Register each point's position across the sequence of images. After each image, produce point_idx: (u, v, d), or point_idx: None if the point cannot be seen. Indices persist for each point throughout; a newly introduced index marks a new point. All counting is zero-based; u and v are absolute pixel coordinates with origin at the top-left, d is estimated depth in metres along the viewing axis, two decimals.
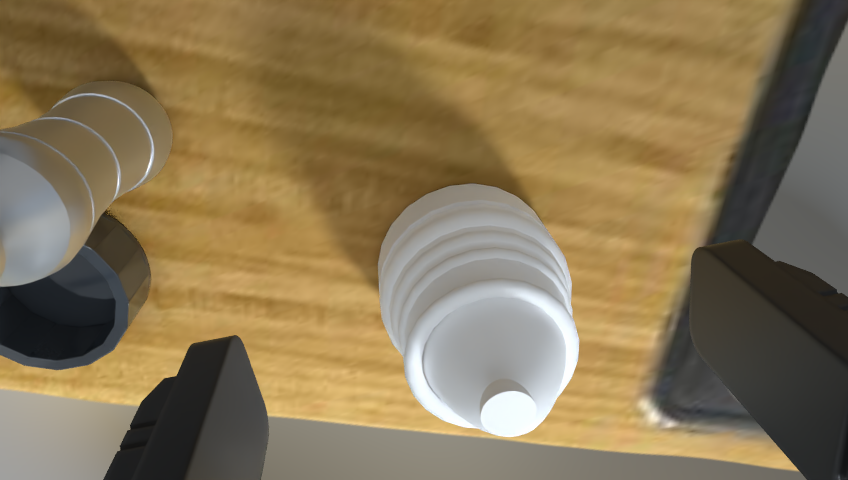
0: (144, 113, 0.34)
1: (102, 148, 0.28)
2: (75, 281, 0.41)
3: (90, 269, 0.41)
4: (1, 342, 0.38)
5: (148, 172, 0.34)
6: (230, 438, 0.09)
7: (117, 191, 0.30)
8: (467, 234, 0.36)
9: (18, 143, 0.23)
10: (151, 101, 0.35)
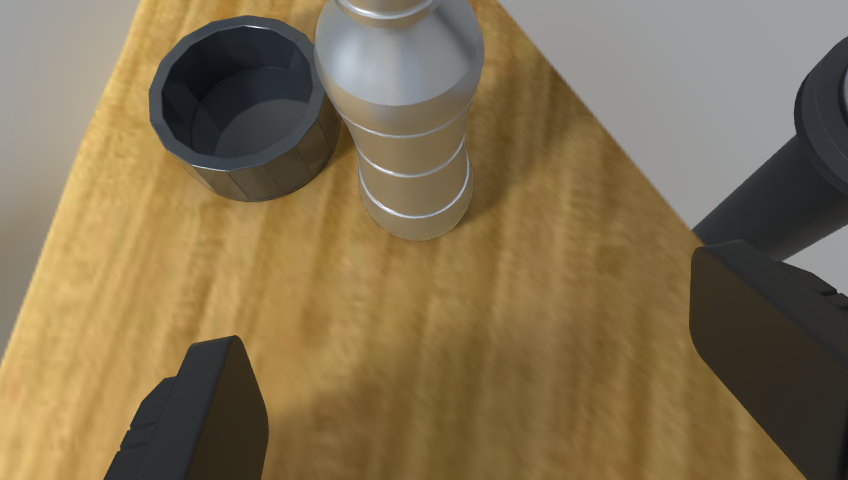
0: (448, 214, 0.31)
1: (438, 162, 0.26)
2: (247, 128, 0.38)
3: (260, 143, 0.37)
4: (192, 46, 0.35)
5: (384, 209, 0.31)
6: (230, 438, 0.09)
7: (383, 171, 0.27)
8: None
9: (477, 76, 0.22)
10: (454, 223, 0.33)
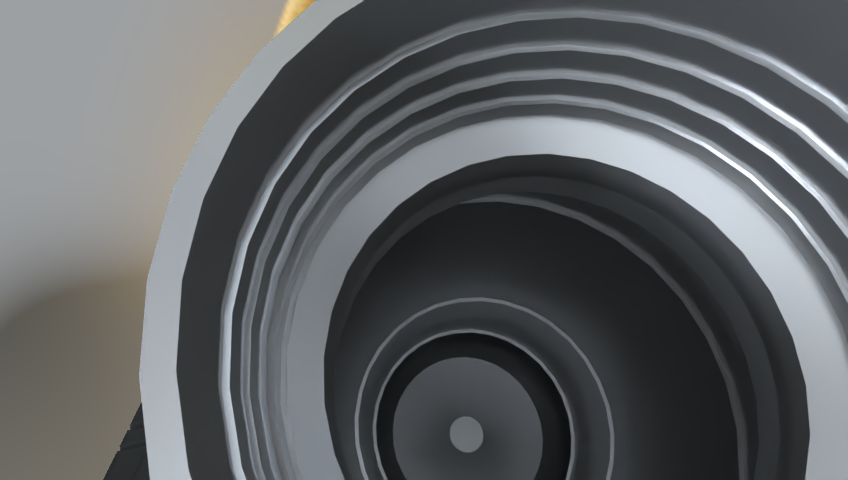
0: None
1: None
2: None
3: None
4: None
5: None
6: None
7: None
8: None
9: None
10: None
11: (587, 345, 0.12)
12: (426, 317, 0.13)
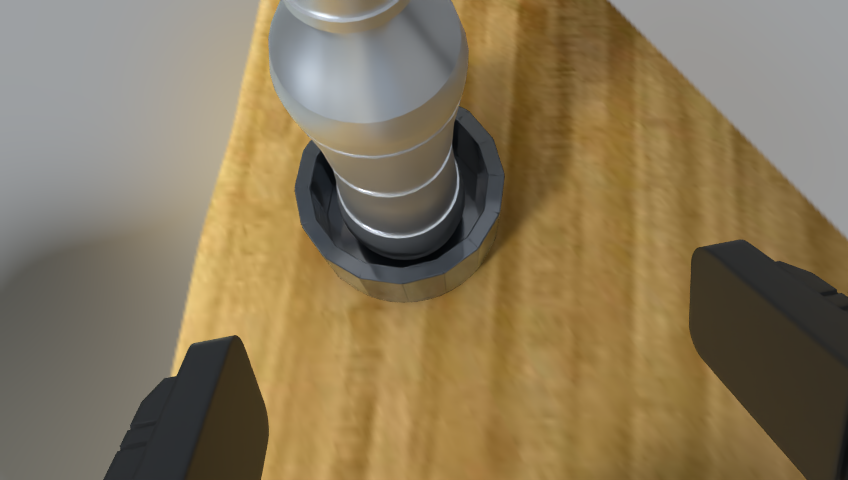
0: (438, 231, 0.28)
1: (422, 179, 0.23)
2: None
3: None
4: None
5: (367, 229, 0.28)
6: (230, 438, 0.09)
7: (362, 191, 0.24)
8: None
9: (462, 81, 0.19)
10: (446, 239, 0.30)
11: None
12: None
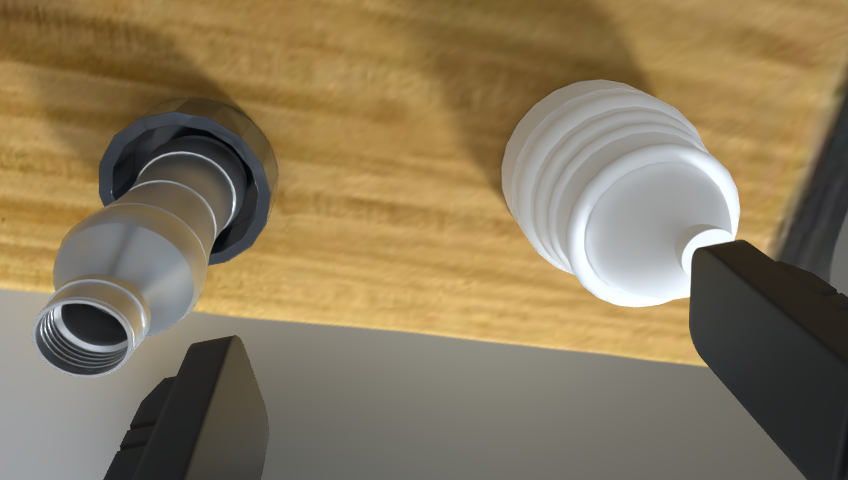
0: (227, 166, 0.37)
1: (203, 207, 0.32)
2: None
3: None
4: None
5: (230, 220, 0.38)
6: (230, 438, 0.09)
7: (212, 243, 0.33)
8: (618, 113, 0.35)
9: (150, 215, 0.27)
10: (230, 154, 0.38)
11: None
12: None
